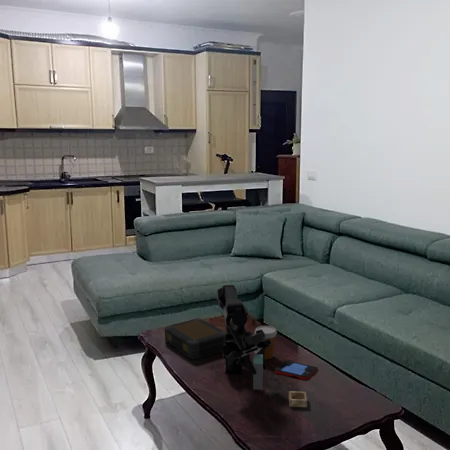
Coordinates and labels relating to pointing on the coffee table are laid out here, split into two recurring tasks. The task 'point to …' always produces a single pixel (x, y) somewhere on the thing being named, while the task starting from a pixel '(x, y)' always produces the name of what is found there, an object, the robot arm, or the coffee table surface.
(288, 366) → the game console
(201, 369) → the coffee table surface
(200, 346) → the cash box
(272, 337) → the disposable coffee cup
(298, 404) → the open wooden box
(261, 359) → the teal-topped square pillar
